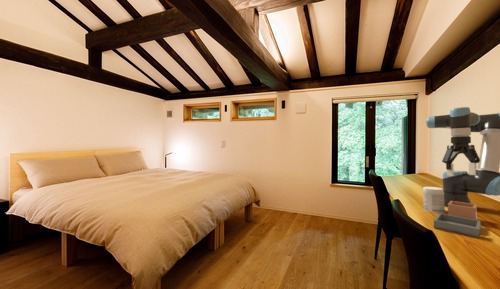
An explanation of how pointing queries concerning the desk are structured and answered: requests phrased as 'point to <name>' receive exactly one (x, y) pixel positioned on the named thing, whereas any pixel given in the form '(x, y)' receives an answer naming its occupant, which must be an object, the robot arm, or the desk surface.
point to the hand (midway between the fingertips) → (461, 175)
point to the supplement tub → (433, 199)
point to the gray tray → (458, 225)
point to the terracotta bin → (462, 209)
